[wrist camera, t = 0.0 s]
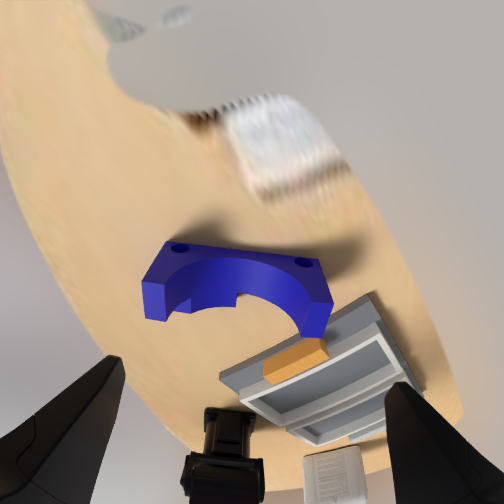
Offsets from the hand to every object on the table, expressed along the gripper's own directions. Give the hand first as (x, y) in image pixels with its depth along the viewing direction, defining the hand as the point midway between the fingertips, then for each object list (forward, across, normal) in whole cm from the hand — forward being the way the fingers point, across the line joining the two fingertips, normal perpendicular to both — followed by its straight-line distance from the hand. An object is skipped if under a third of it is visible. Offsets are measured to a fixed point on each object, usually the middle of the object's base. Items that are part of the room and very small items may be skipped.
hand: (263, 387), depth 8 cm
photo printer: (+15, -18, +39) cm, 46 cm away
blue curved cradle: (+15, +1, +5) cm, 16 cm away
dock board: (+15, -12, +19) cm, 27 cm away
